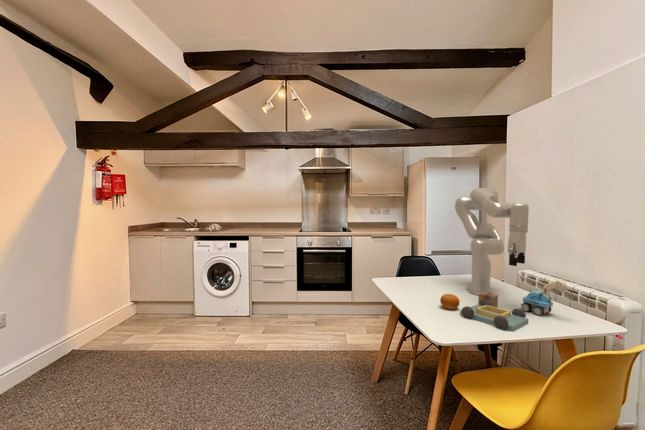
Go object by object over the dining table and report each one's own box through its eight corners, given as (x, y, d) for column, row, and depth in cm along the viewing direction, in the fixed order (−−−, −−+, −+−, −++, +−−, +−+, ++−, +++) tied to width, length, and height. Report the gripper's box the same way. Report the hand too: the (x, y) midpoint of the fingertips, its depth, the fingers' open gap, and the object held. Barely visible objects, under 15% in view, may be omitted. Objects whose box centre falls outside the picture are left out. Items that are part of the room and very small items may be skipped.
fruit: (463, 300, 149) (454, 287, 148) (462, 311, 142) (452, 297, 141) (447, 304, 154) (438, 292, 153) (445, 315, 147) (436, 302, 146)
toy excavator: (558, 322, 131) (559, 282, 131) (518, 310, 146) (519, 274, 146) (568, 318, 135) (569, 280, 135) (528, 307, 150) (529, 273, 150)
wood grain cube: (478, 305, 153) (478, 293, 152) (483, 303, 156) (483, 291, 155) (492, 309, 147) (493, 297, 147) (497, 307, 150) (498, 295, 150)
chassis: (458, 315, 138) (458, 304, 138) (478, 308, 148) (478, 298, 148) (510, 332, 120) (511, 319, 120) (529, 322, 130) (529, 311, 130)
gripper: (516, 227, 154) (515, 261, 154) (502, 229, 143) (500, 265, 144) (533, 228, 148) (532, 263, 149) (520, 230, 137) (518, 268, 138)
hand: (516, 264), depth 146 cm, fingers open, 9 cm apart
